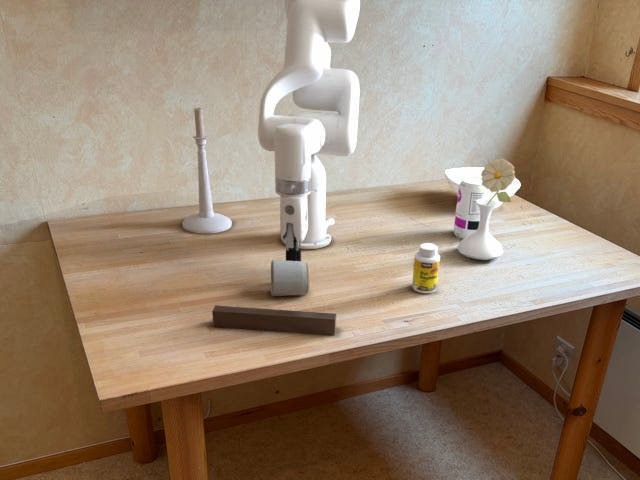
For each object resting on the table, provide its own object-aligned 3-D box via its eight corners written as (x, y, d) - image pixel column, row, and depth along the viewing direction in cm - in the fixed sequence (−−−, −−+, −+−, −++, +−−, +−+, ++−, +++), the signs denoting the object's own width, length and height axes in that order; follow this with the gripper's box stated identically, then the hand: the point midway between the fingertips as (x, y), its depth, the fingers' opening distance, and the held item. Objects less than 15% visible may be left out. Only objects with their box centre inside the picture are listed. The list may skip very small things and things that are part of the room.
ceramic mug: (311, 300, 147) (311, 266, 143) (272, 301, 146) (271, 268, 142) (305, 280, 156) (305, 248, 152) (269, 281, 154) (268, 249, 151)
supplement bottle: (415, 295, 152) (419, 251, 147) (409, 284, 156) (412, 242, 151) (439, 293, 153) (444, 250, 148) (432, 283, 158) (436, 241, 152)
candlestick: (172, 224, 182) (160, 105, 166) (211, 213, 190) (202, 99, 175) (202, 237, 175) (192, 115, 159) (241, 225, 183) (235, 108, 168)
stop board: (216, 320, 137) (215, 305, 136) (335, 329, 137) (336, 313, 135) (213, 326, 135) (212, 311, 133) (334, 335, 135) (335, 319, 133)
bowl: (434, 195, 213) (437, 167, 209) (496, 193, 218) (500, 166, 214) (457, 218, 196) (461, 188, 192) (524, 215, 201) (529, 186, 197)
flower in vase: (447, 252, 174) (458, 152, 161) (479, 243, 180) (492, 146, 167) (484, 270, 165) (499, 166, 152) (516, 260, 172) (533, 160, 159)
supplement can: (449, 237, 183) (456, 182, 175) (458, 228, 189) (464, 174, 182) (479, 243, 180) (487, 187, 173) (487, 233, 187) (494, 178, 179)
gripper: (305, 196, 140) (305, 279, 149) (314, 177, 153) (314, 254, 162) (269, 194, 140) (271, 277, 149) (281, 174, 153) (282, 252, 162)
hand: (293, 265), depth 156 cm, fingers closed
